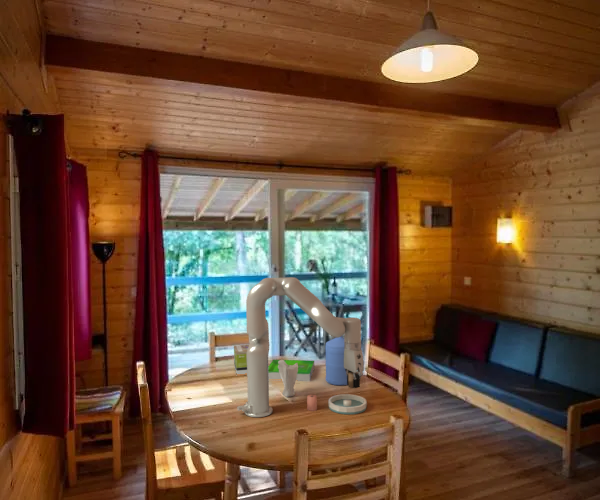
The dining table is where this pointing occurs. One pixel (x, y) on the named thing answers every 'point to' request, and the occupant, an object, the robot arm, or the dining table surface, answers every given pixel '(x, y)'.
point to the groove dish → (347, 404)
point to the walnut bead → (351, 379)
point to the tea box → (240, 358)
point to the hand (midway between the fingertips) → (353, 385)
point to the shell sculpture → (288, 377)
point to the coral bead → (312, 402)
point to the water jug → (335, 362)
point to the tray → (302, 375)
